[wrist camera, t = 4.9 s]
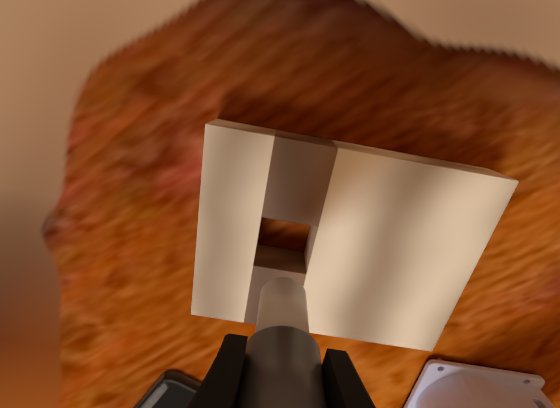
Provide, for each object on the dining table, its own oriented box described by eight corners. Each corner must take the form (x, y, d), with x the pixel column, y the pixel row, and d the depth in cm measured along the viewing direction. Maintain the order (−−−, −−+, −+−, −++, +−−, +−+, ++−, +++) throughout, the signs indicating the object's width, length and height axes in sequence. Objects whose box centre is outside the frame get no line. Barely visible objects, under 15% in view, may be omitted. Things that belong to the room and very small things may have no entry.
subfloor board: (487, 168, 17) (519, 181, 15) (416, 322, 21) (431, 351, 19) (217, 118, 16) (205, 123, 14) (201, 289, 21) (191, 314, 18)
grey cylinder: (318, 275, 12) (353, 490, 6) (306, 322, 13) (325, 551, 7) (257, 267, 12) (222, 475, 6) (250, 314, 13) (213, 538, 7)
